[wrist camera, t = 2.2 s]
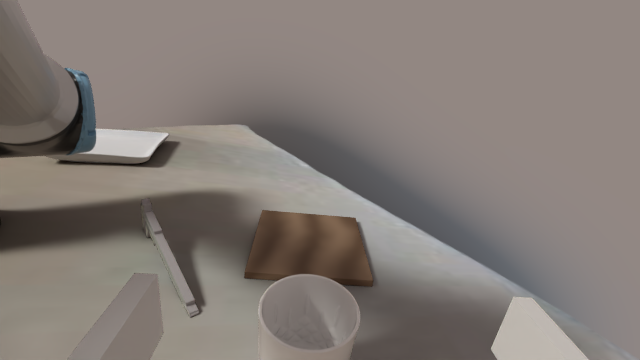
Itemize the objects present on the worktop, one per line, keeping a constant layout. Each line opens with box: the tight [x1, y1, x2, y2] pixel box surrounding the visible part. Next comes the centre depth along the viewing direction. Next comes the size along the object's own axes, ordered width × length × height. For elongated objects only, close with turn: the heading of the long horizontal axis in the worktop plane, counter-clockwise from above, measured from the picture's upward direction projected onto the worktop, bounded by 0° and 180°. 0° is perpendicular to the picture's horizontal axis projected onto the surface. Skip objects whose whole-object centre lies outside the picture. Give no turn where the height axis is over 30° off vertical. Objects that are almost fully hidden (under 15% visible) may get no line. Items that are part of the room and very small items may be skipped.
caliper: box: [141, 198, 199, 317], centre depth 40 cm, size 20×1×6 cm, turn 40°
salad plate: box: [46, 129, 169, 164], centre depth 77 cm, size 21×21×3 cm
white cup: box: [258, 274, 360, 360], centre depth 26 cm, size 8×8×10 cm
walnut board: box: [244, 210, 373, 287], centre depth 49 cm, size 17×17×1 cm
